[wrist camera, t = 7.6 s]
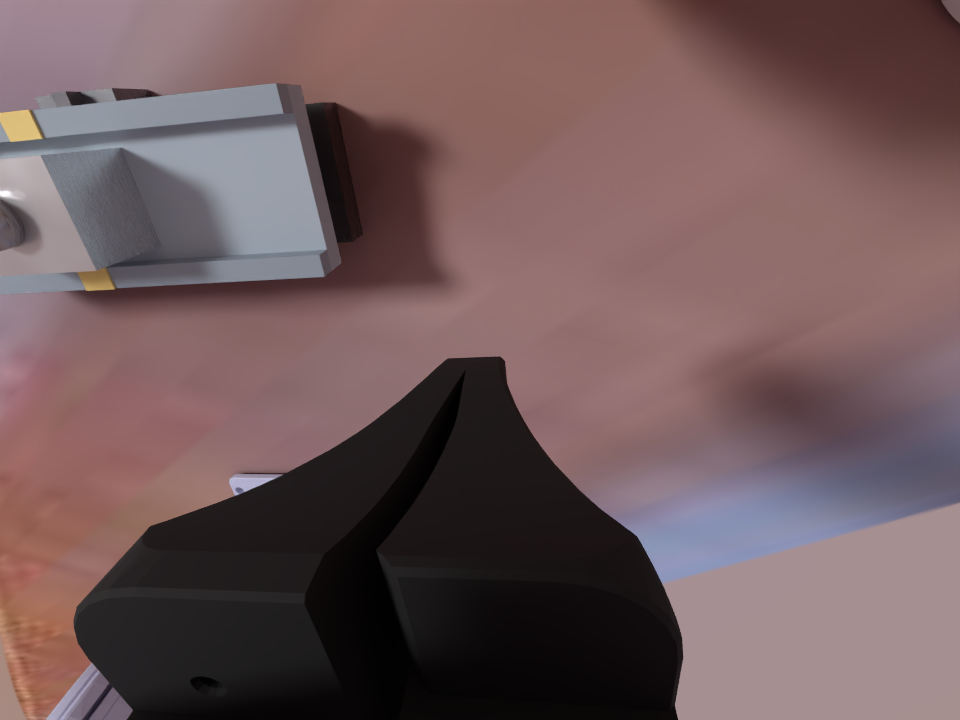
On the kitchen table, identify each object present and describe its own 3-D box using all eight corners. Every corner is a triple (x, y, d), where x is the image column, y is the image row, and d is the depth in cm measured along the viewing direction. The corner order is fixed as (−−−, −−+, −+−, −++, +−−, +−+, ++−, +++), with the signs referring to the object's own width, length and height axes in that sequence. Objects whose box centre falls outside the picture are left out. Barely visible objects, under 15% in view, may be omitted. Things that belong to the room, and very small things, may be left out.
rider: (161, 246, 17) (83, 275, 14) (45, 253, 18) (-54, 283, 15) (121, 147, 16) (23, 157, 13) (-5, 159, 17) (-127, 171, 13)
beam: (341, 263, 18) (324, 278, 17) (-49, 285, 20) (-97, 300, 19) (300, 84, 15) (274, 82, 14) (-148, 134, 18) (-213, 136, 16)
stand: (367, 259, 21) (348, 276, 19) (17, 278, 23) (-35, 295, 21) (328, 69, 17) (299, 63, 15) (-77, 115, 20) (-150, 116, 18)
